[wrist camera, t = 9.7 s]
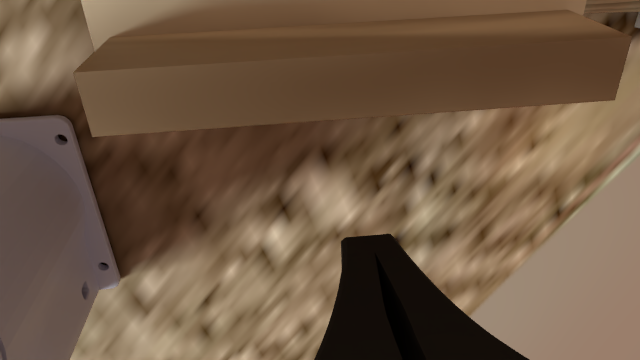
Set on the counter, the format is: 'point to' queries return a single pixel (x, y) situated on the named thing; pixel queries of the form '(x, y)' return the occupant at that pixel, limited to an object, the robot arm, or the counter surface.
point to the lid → (335, 60)
